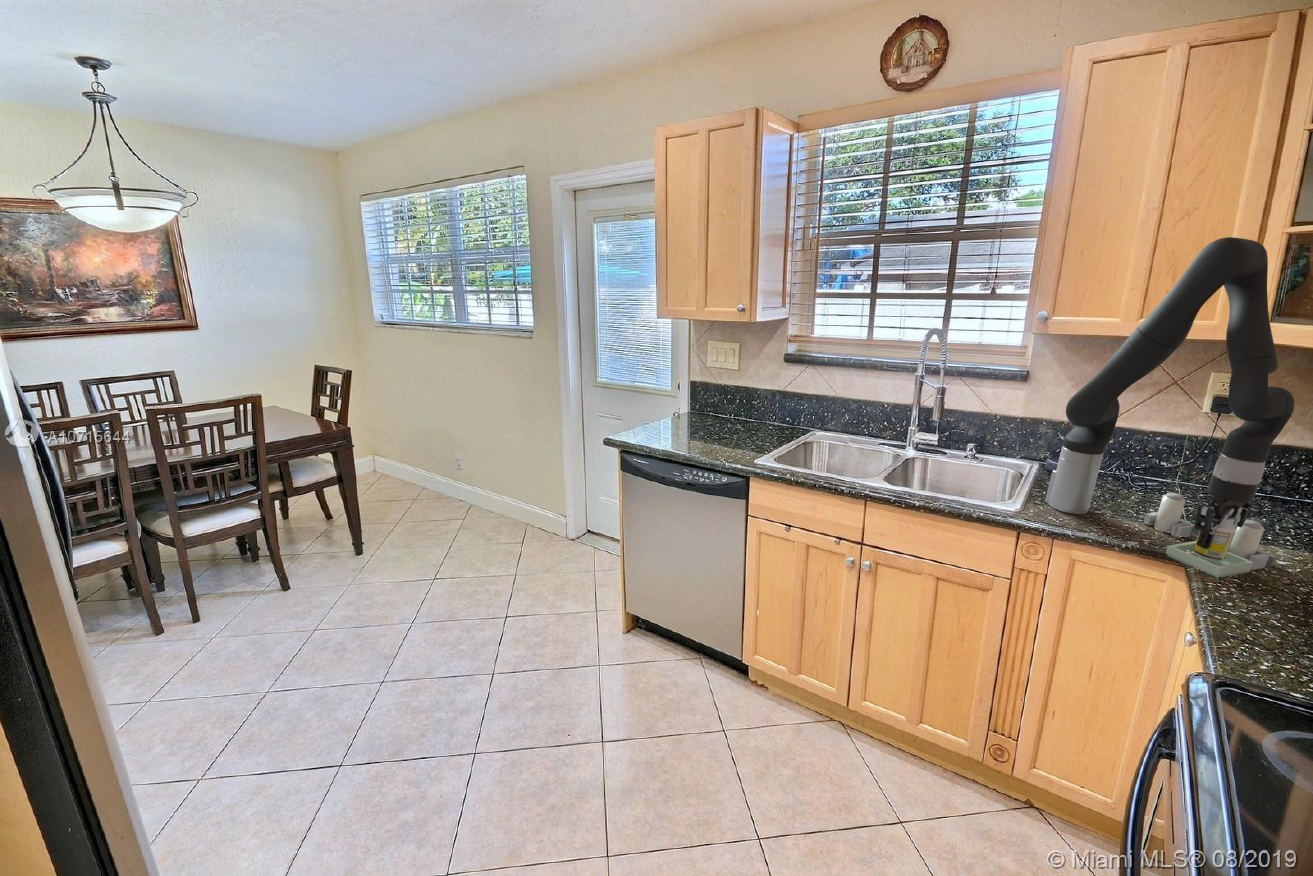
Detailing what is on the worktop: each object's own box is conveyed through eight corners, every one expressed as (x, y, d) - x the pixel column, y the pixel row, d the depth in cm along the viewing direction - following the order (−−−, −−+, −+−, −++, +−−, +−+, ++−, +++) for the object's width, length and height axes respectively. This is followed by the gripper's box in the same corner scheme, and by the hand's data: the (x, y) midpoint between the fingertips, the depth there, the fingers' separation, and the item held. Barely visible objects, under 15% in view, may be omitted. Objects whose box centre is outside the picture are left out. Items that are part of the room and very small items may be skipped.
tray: (1164, 555, 138) (1167, 545, 137) (1196, 549, 141) (1199, 540, 140) (1216, 578, 128) (1220, 568, 127) (1249, 572, 131) (1253, 562, 130)
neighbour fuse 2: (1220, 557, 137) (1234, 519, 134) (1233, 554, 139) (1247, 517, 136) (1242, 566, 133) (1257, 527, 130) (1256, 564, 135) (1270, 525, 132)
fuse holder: (1142, 524, 154) (1145, 513, 153) (1161, 520, 156) (1165, 510, 155) (1253, 570, 132) (1257, 558, 131) (1274, 566, 134) (1278, 554, 133)
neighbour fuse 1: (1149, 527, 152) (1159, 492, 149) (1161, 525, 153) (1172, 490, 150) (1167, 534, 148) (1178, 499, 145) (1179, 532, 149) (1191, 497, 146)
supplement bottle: (1206, 550, 137) (1221, 510, 134) (1231, 562, 132) (1247, 521, 128) (1185, 551, 136) (1199, 511, 133) (1209, 563, 131) (1224, 522, 128)
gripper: (1238, 467, 133) (1214, 534, 138) (1193, 473, 129) (1171, 541, 134) (1279, 480, 126) (1253, 549, 132) (1233, 486, 122) (1208, 557, 128)
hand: (1211, 545), depth 133 cm, fingers closed on supplement bottle, 5 cm apart
